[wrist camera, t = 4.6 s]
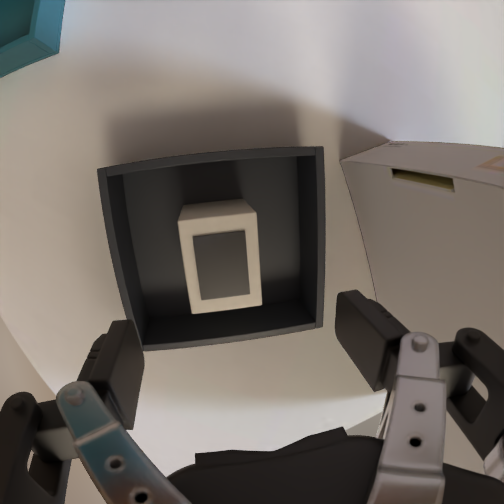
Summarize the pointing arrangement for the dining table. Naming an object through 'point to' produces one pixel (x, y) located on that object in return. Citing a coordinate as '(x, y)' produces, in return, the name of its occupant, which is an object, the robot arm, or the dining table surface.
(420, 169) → the packaging
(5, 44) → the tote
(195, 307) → the white box with panel
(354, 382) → the dining table surface
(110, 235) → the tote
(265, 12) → the dining table surface
